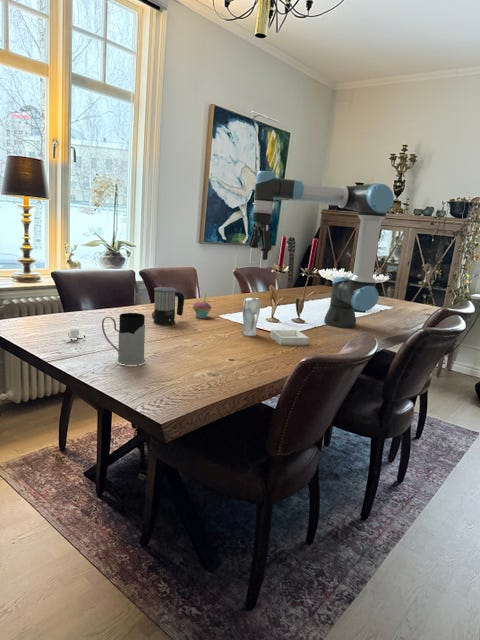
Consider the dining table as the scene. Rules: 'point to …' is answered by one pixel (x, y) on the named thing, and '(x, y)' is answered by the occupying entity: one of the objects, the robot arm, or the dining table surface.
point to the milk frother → (167, 305)
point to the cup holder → (289, 337)
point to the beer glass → (250, 316)
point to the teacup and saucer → (75, 333)
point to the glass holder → (130, 338)
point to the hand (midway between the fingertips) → (257, 265)
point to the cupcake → (202, 308)
